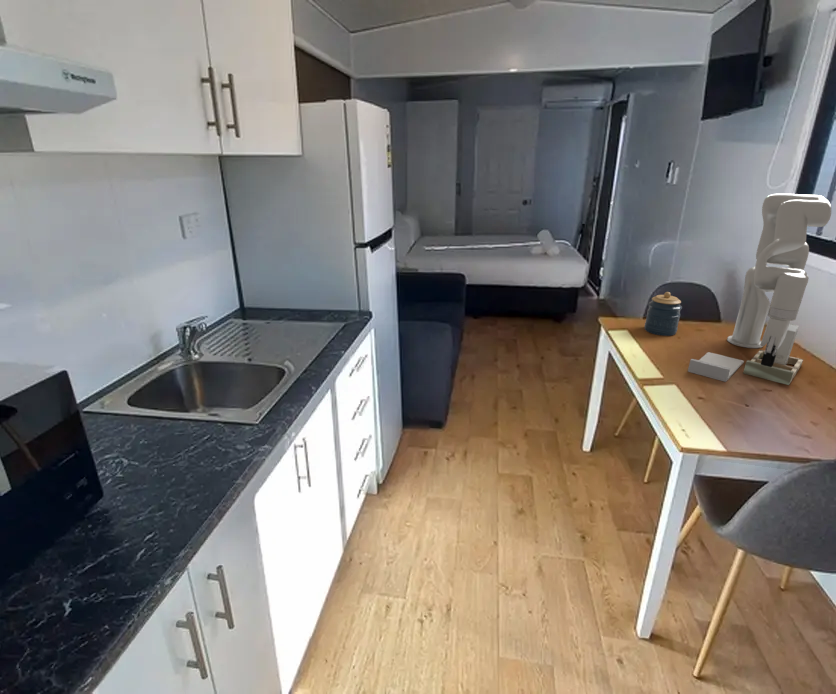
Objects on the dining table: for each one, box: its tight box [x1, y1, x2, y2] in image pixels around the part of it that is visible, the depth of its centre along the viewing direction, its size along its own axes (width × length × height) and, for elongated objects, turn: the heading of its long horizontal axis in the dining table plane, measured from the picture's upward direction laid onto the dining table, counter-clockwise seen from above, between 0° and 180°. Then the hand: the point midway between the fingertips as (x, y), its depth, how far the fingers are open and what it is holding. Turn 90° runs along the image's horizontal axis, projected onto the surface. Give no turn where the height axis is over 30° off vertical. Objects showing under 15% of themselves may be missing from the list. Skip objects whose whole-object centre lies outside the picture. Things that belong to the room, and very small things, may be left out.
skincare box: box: [774, 323, 800, 365], centre depth 176 cm, size 8×7×16 cm
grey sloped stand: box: [687, 351, 745, 383], centre depth 176 cm, size 24×12×4 cm, turn 136°
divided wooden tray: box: [742, 349, 804, 386], centre depth 175 cm, size 24×13×4 cm, turn 136°
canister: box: [644, 291, 683, 337], centre depth 210 cm, size 13×13×18 cm
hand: (766, 365), depth 162 cm, fingers closed
